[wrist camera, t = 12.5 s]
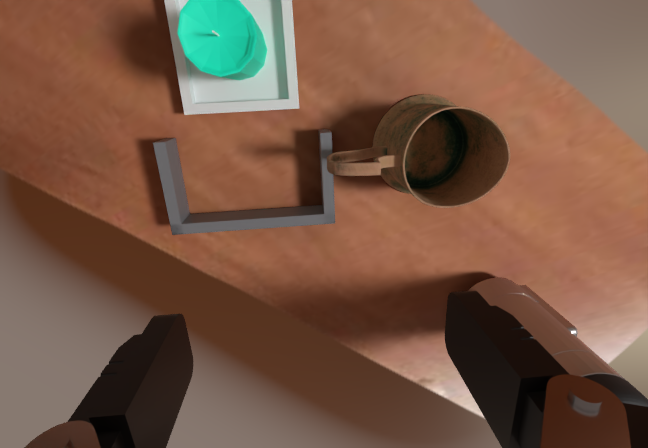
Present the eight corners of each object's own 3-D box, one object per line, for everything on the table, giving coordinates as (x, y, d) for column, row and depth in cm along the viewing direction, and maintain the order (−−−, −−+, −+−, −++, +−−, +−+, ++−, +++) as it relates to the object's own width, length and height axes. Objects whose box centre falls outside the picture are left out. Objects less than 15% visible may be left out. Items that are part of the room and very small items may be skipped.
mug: (319, 96, 40) (328, 99, 29) (474, 93, 41) (541, 94, 30) (322, 197, 44) (330, 233, 33) (462, 191, 45) (517, 224, 34)
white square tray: (290, -19, 36) (290, -25, 34) (299, 107, 40) (299, 108, 38) (167, -15, 35) (160, -20, 34) (189, 113, 40) (184, 114, 38)
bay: (328, 129, 41) (331, 132, 38) (332, 213, 45) (335, 223, 42) (164, 138, 40) (152, 142, 37) (181, 224, 44) (172, 234, 41)
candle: (268, 81, 38) (257, 77, 27) (211, 79, 38) (175, 75, 27) (266, 17, 36) (253, -16, 25) (205, 14, 36) (164, -20, 25)
